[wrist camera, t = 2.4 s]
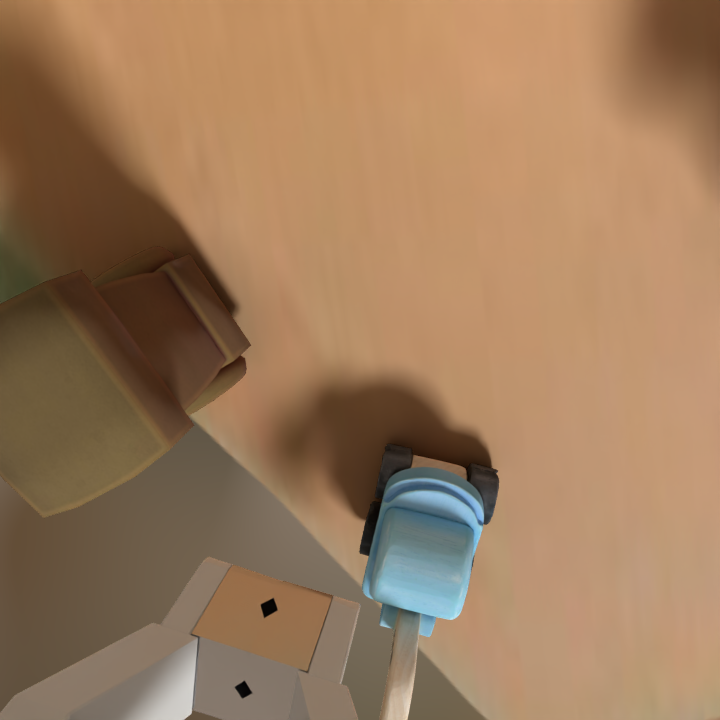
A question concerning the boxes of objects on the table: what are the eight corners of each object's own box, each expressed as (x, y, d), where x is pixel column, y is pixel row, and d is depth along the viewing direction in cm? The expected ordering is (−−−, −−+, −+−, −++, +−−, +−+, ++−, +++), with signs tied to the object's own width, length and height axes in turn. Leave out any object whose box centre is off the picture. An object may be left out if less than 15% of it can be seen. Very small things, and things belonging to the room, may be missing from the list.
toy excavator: (350, 589, 50) (293, 796, 34) (389, 423, 43) (340, 585, 28) (447, 617, 49) (434, 844, 33) (501, 452, 42) (517, 636, 27)
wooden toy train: (197, 217, 40) (28, 263, 25) (286, 351, 43) (181, 467, 28) (19, 344, 47) (-200, 442, 32) (104, 454, 50) (-61, 593, 34)
